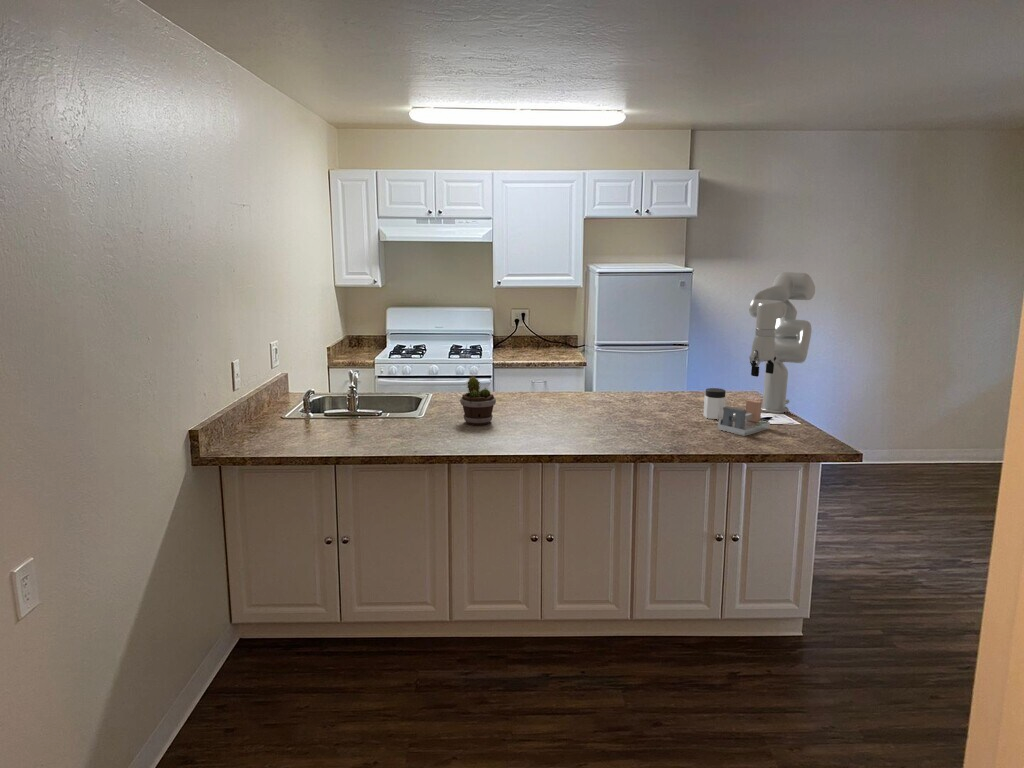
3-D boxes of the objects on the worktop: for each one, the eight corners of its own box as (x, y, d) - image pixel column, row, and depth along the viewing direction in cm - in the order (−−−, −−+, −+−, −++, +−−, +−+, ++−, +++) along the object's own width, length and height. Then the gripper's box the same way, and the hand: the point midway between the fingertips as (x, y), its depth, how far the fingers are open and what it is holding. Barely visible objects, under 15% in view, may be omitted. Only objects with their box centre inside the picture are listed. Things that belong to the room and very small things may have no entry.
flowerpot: (503, 424, 296) (503, 376, 292) (469, 429, 288) (469, 380, 284) (485, 416, 308) (485, 370, 304) (453, 421, 300) (453, 373, 296)
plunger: (750, 418, 297) (752, 399, 295) (768, 422, 291) (770, 402, 289) (729, 423, 287) (730, 404, 286) (747, 428, 281) (749, 408, 280)
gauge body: (743, 422, 300) (744, 400, 298) (769, 428, 291) (771, 405, 289) (717, 429, 289) (719, 406, 287) (744, 436, 280) (746, 412, 278)
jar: (714, 420, 303) (716, 392, 301) (699, 416, 310) (701, 389, 307) (728, 418, 308) (730, 390, 305) (713, 414, 314) (715, 387, 312)
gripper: (770, 330, 298) (767, 370, 302) (743, 333, 288) (741, 375, 292) (786, 332, 292) (782, 373, 296) (760, 335, 283) (757, 378, 286)
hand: (762, 374), depth 294 cm, fingers open, 9 cm apart
